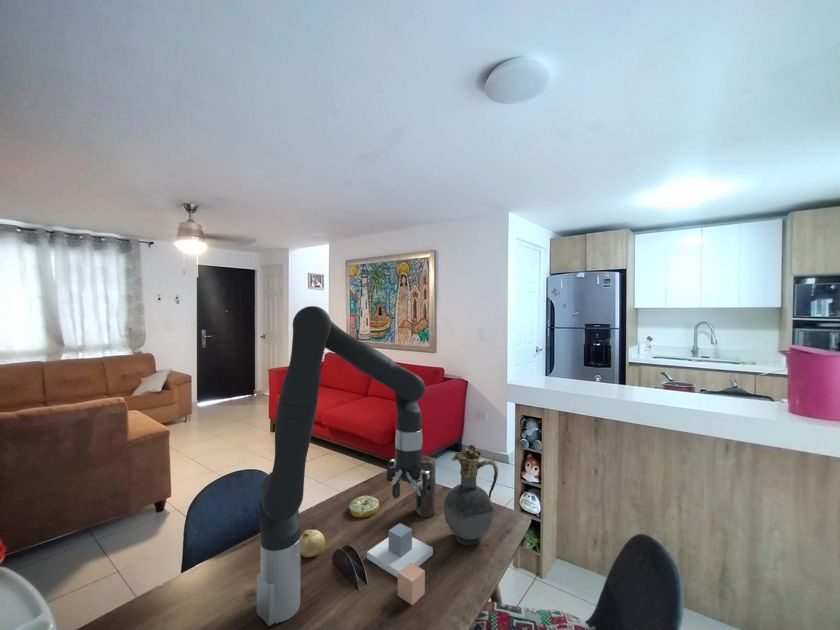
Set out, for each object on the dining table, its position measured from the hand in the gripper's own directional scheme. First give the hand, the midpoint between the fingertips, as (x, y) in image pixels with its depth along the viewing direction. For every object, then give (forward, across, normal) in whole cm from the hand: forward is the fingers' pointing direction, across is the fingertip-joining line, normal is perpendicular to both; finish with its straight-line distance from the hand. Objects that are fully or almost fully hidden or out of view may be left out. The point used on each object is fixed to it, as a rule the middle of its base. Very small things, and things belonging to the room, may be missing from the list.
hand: (408, 502), depth 101 cm
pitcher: (+20, +6, +26) cm, 34 cm away
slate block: (+18, -6, +5) cm, 20 cm away
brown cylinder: (+20, -15, +29) cm, 38 cm away
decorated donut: (+21, -33, +15) cm, 42 cm away
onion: (+21, -29, -11) cm, 37 cm away
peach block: (+20, +5, -5) cm, 22 cm away
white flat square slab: (+20, -6, +5) cm, 22 cm away
